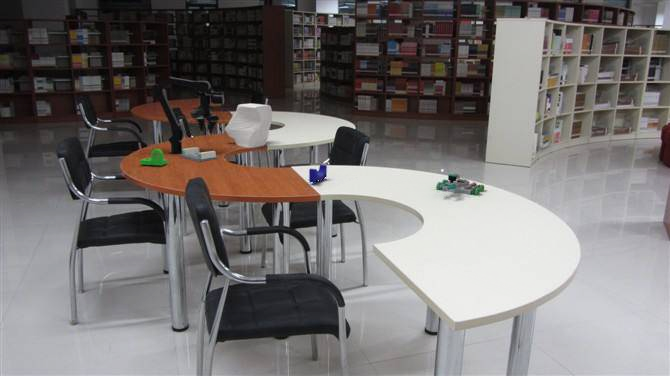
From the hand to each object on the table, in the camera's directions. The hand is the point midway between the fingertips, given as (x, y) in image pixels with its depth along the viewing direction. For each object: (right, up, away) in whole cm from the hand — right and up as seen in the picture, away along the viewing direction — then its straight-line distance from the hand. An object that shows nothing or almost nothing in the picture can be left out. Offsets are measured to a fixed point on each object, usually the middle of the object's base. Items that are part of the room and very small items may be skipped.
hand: (205, 132), depth 306 cm
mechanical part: (-20, -19, -27) cm, 39 cm away
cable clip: (+64, -28, -55) cm, 88 cm away
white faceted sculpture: (+21, -6, +27) cm, 35 cm away
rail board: (-1, -15, -11) cm, 19 cm away
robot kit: (+123, -34, -77) cm, 149 cm away
